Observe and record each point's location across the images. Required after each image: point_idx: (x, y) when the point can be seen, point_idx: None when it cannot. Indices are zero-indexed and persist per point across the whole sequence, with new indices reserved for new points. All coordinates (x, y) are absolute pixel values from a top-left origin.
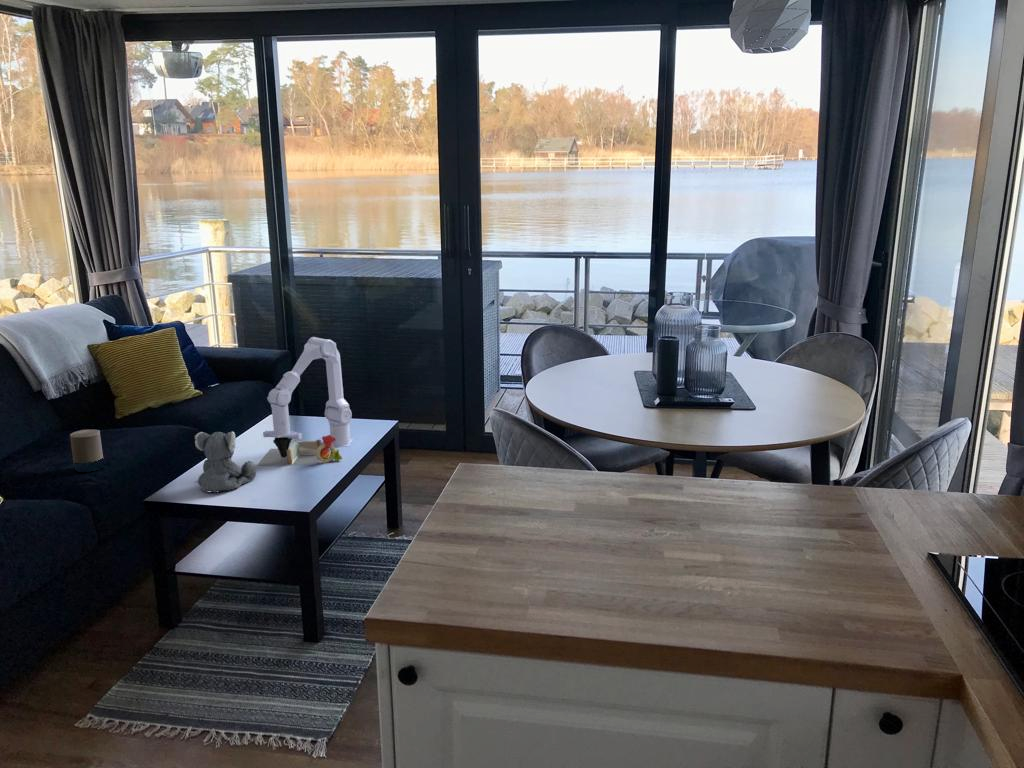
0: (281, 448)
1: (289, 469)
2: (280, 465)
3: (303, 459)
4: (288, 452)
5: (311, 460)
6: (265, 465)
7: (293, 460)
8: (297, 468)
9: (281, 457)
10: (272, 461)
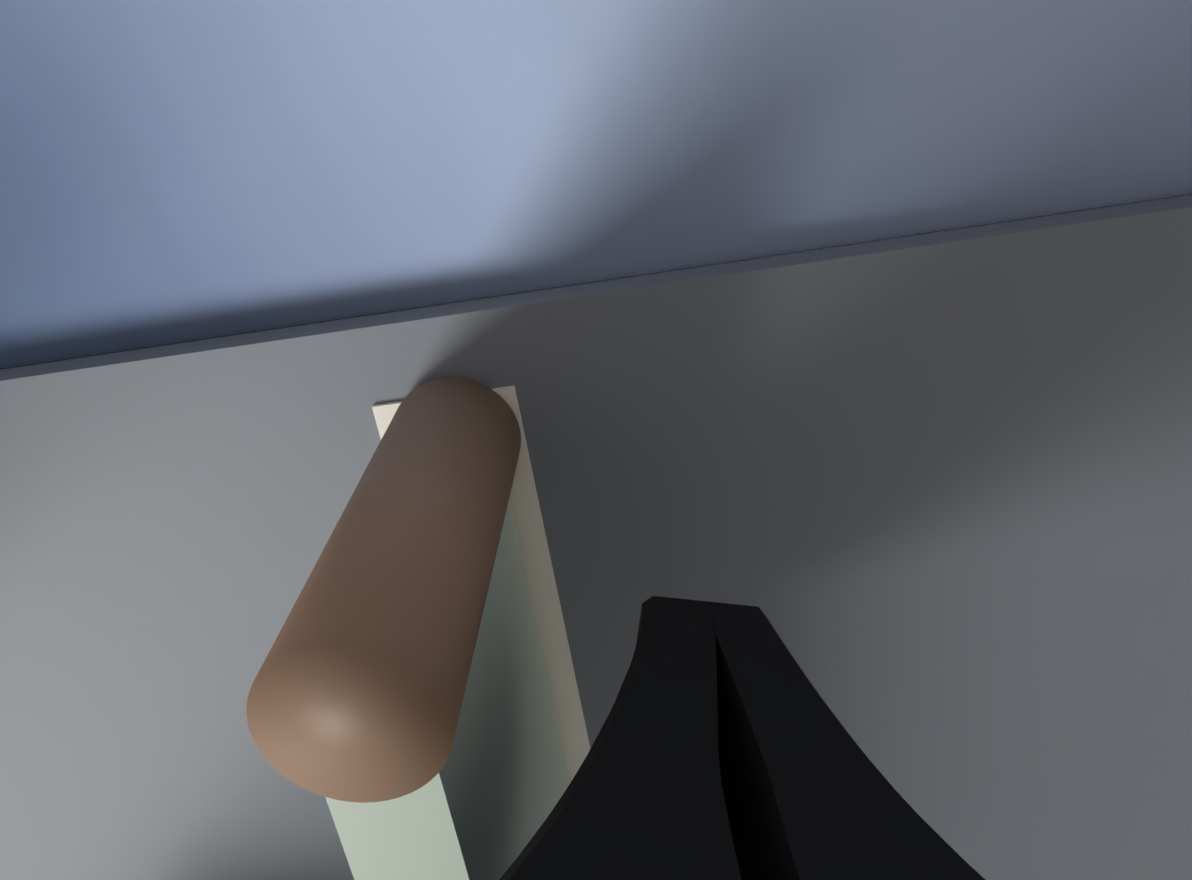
0: (761, 840)
1: (303, 69)
2: (685, 279)
3: None
4: (340, 588)
5: (30, 691)
6: (1177, 233)
7: None
8: (109, 182)
9: None
10: (1038, 558)
